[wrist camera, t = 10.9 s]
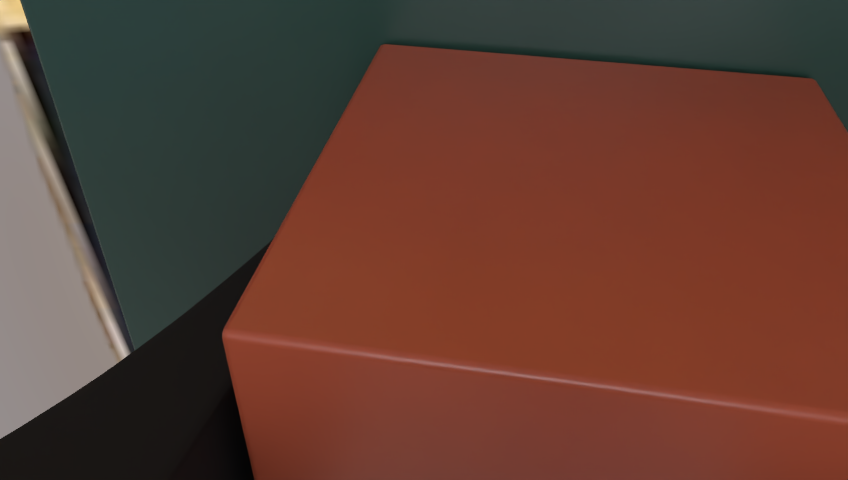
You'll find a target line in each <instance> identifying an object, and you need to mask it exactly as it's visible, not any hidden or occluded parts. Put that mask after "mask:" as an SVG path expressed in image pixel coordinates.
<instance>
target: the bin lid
mask: <svg viewBox="0 0 848 480" xmlns="http://www.w3.org/2000/svg"><path fill="white" fill-rule="evenodd" d="M20 1H21V4H22V7H23V10H24V13H25V16H26V19H27V22H28V25H29V28H30V31H31V34H32V37H33V40H34V44H35V47H36V50H37V53H38V56H39V59H40V62H41V65H42V68H43V71H44V74H45V77H46V80H47V83H48V86H49V89H50V93H51V96H52V99H53V102H54V105H55V108H56V111H57V114H58V117H59V120H60V123H61V126H62V129H63V132H64V135H65V139H66V142H67V145H68V148H69V151H70V154H71V157H72V160H73V163H74V166H75V169H76V172H77V175H78V178H79V181H80V184H81V188H82V191H83V194H84V197H85V200H86V203H87V206H88V209H89V212H90V215H91V218H92V221H93V224H94V227H95V230H96V234H97V237H98V240H99V243H100V246H101V249H102V252H103V255H104V258H105V261H106V264H107V267H108V270H109V273H110V276H111V279H112V283H113V286H114V289H115V292H116V295H117V298H118V301H119V304H120V307H121V310H122V313H123V316H124V319H125V322H126V325H127V329H128V332H129V335H130V338H131V341H132V344H133V347H134V350H136V349H138V348H139V347H140V346H142V345H143V344H144V343H146V342H147V341H148V340H150V339H151V338H152V337H154V336H155V335H156V334H158V333H159V332H160V331H162V330H163V329H164V328H166V327H167V326H168V325H170V324H171V323H172V322H174V321H175V320H176V319H178V318H179V317H180V316H181V315H183V314H184V313H185V312H186V311H188V310H189V309H190V308H191V307H193V306H194V305H195V304H196V303H198V302H199V301H200V300H201V299H202V298H204V297H205V296H206V295H207V294H209V293H210V292H211V291H212V290H213V289H215V288H216V287H217V286H218V285H219V284H221V283H222V282H223V281H224V280H226V279H227V278H228V277H229V276H230V275H232V274H233V273H234V272H235V271H236V270H238V269H239V268H240V267H241V266H242V265H243V264H245V263H246V262H247V261H248V260H249V259H250V258H252V257H253V256H254V255H255V254H256V253H257V252H259V251H260V250H261V249H262V248H263V247H264V246H266V245H267V244H268V243H269V242H270V241H271V240H272V239H273V238H274V237H275V235H276V233H277V231H278V229H279V228H280V226H281V224H282V222H283V220H284V219H285V217H286V215H287V213H288V211H289V210H290V208H291V206H292V204H293V202H294V201H295V199H296V197H297V195H298V193H299V192H300V190H301V188H302V186H303V184H304V183H305V181H306V179H307V177H308V175H309V174H310V172H311V170H312V168H313V166H314V165H315V163H316V161H317V159H318V157H319V156H320V154H321V152H322V150H323V148H324V147H325V145H326V143H327V141H328V139H329V138H330V136H331V134H332V132H333V130H334V129H335V127H336V125H337V123H338V121H339V120H340V118H341V116H342V114H343V112H344V111H345V109H346V107H347V105H348V103H349V102H350V100H351V98H352V96H353V94H354V93H355V91H356V89H357V87H358V85H359V84H360V82H361V80H362V78H363V76H364V75H365V73H366V71H367V69H368V67H369V66H370V64H371V62H372V60H373V58H374V56H375V55H376V53H377V51H378V49H379V47H380V46H381V45H383V44H391V45H403V46H415V47H428V48H440V49H453V50H465V51H477V52H490V53H502V54H515V55H527V56H539V57H552V58H564V59H577V60H589V61H601V62H614V63H626V64H639V65H651V66H663V67H676V68H688V69H701V70H713V71H725V72H738V73H750V74H763V75H775V76H787V77H800V78H812V79H814V80H816V81H817V83H818V85H819V86H820V88H821V90H822V91H823V93H824V94H825V96H826V98H827V99H828V101H829V103H830V104H831V106H832V107H833V109H834V111H835V112H836V114H837V116H838V117H839V119H840V120H841V122H842V124H843V125H844V127H845V129H846V130H847V132H848V0H20Z"/></svg>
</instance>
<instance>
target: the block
mask: <svg viewBox="0 0 848 480" xmlns="http://www.w3.org/2000/svg"><path fill="white" fill-rule="evenodd" d="M222 340H223V344H224V349H225V353H226V358H227V362H228V366H229V371H230V375H231V380H232V384H233V388H234V393H235V397H236V402H237V406H238V410H239V415H240V419H241V424H242V428H243V432H244V437H245V441H246V446H247V450H248V454H249V459H250V463H251V468H252V472H253V477H254V480H848V132H847V130H846V129H845V127H844V125H843V124H842V122H841V120H840V119H839V117H838V116H837V114H836V112H835V111H834V109H833V107H832V106H831V104H830V103H829V101H828V99H827V98H826V96H825V94H824V93H823V91H822V90H821V88H820V86H819V85H818V83H817V81H816V80H814V79H812V78H800V77H787V76H775V75H763V74H750V73H738V72H725V71H713V70H701V69H688V68H676V67H663V66H651V65H639V64H626V63H614V62H601V61H589V60H577V59H564V58H552V57H539V56H527V55H515V54H502V53H490V52H477V51H465V50H453V49H440V48H428V47H415V46H403V45H391V44H383V45H381V46H380V47H379V49H378V51H377V53H376V55H375V56H374V58H373V60H372V62H371V64H370V66H369V67H368V69H367V71H366V73H365V75H364V76H363V78H362V80H361V82H360V84H359V85H358V87H357V89H356V91H355V93H354V94H353V96H352V98H351V100H350V102H349V103H348V105H347V107H346V109H345V111H344V112H343V114H342V116H341V118H340V120H339V121H338V123H337V125H336V127H335V129H334V130H333V132H332V134H331V136H330V138H329V139H328V141H327V143H326V145H325V147H324V148H323V150H322V152H321V154H320V156H319V157H318V159H317V161H316V163H315V165H314V166H313V168H312V170H311V172H310V174H309V175H308V177H307V179H306V181H305V183H304V184H303V186H302V188H301V190H300V192H299V193H298V195H297V197H296V199H295V201H294V202H293V204H292V206H291V208H290V210H289V211H288V213H287V215H286V217H285V219H284V220H283V222H282V224H281V226H280V228H279V229H278V231H277V233H276V235H275V237H274V238H273V240H272V242H271V244H270V246H269V247H268V249H267V251H266V253H265V255H264V256H263V258H262V260H261V262H260V264H259V266H258V267H257V269H256V271H255V273H254V275H253V276H252V278H251V280H250V282H249V284H248V285H247V287H246V289H245V291H244V293H243V294H242V296H241V298H240V300H239V302H238V303H237V305H236V307H235V309H234V311H233V312H232V314H231V316H230V318H229V320H228V321H227V323H226V325H225V327H224V329H223V332H222Z"/></svg>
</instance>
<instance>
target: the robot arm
mask: <svg viewBox="0 0 848 480" xmlns="http://www.w3.org/2000/svg"><path fill="white" fill-rule="evenodd" d="M272 240H273V239H272ZM272 240H271V241H270V242H269V243H268V244H267V245H266V246H264V247H263V248H262V249H261V250H260V251H259V252H257V253H256V254H255V255H254V256H253V257H252V258H250V259H249V260H248V261H247V262H246V263H245V264H243V265H242V266H241V267H240V268H239V269H238V270H236V271H235V272H234V273H233V274H232V275H230V276H229V277H228V278H227V279H226V280H224V281H223V282H222V283H221V284H219V285H218V286H217V287H216V288H215V289H213V290H212V291H211V292H210V293H209V294H207V295H206V296H205V297H204V298H202V299H201V300H200V301H199V302H198V303H196V304H195V305H194V306H193V307H191V308H190V309H189V310H188V311H186V312H185V313H184V314H183V315H181V316H180V317H179V318H178V319H176V320H175V321H174V322H172V323H171V324H170V325H168V326H167V327H166V328H164V329H163V330H162V331H160V332H159V333H158V334H156V335H155V336H154V337H152V338H151V339H150V340H148V341H147V342H146V343H144V344H143V345H142V346H140V347H139V348H138V349H136V350H135V351H134V352H132V353H131V354H130V355H128V356H127V357H126V358H124V359H123V360H122V361H120V362H119V363H117V364H116V365H115V366H114V367H112V368H110V369H109V370H107V371H106V372H105V373H103V374H102V375H100V376H99V377H97V378H96V379H94V380H93V381H91V382H90V383H88V384H87V385H85V386H84V387H82V388H81V389H79V390H78V391H77V392H75V393H73V394H72V395H70V396H69V397H67V398H66V399H64V400H62V401H61V402H59V403H58V404H56V405H55V406H53V407H51V408H50V409H49V410H47V411H45V412H43V413H42V414H40V415H39V416H37V417H35V418H34V419H32V420H31V421H29V422H28V423H26V424H24V425H23V426H21V427H20V428H18V429H16V430H15V431H13V432H11V433H10V434H8V435H6V436H5V437H3V438H1V439H0V480H254V477H253V472H252V468H251V463H250V459H249V454H248V450H247V446H246V441H245V437H244V432H243V428H242V424H241V419H240V415H239V410H238V406H237V402H236V397H235V393H234V388H233V384H232V380H231V375H230V371H229V366H228V362H227V358H226V353H225V349H224V344H223V340H222V332H223V329H224V327H225V325H226V323H227V321H228V320H229V318H230V316H231V314H232V312H233V311H234V309H235V307H236V305H237V303H238V302H239V300H240V298H241V296H242V294H243V293H244V291H245V289H246V287H247V285H248V284H249V282H250V280H251V278H252V276H253V275H254V273H255V271H256V269H257V267H258V266H259V264H260V262H261V260H262V258H263V256H264V255H265V253H266V251H267V249H268V247H269V246H270V244H271V242H272Z"/></svg>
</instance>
